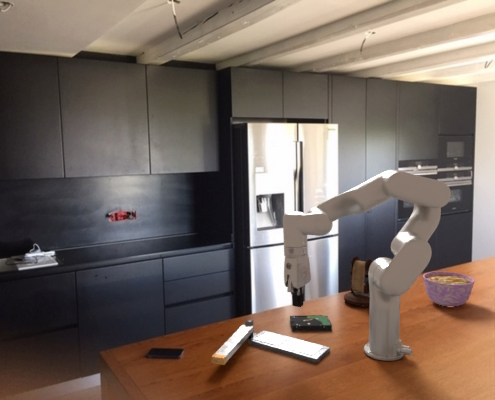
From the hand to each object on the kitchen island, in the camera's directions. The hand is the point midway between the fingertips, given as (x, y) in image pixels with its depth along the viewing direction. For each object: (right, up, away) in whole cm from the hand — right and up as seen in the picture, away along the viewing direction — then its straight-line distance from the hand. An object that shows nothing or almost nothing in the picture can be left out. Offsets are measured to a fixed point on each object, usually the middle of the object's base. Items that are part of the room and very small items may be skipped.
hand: (297, 305), depth 152 cm
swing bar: (-20, -15, +3) cm, 25 cm away
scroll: (+33, -10, +50) cm, 60 cm away
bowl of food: (+68, -10, +47) cm, 84 cm away
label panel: (-5, -16, +8) cm, 18 cm away
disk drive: (+7, -14, +26) cm, 30 cm away
